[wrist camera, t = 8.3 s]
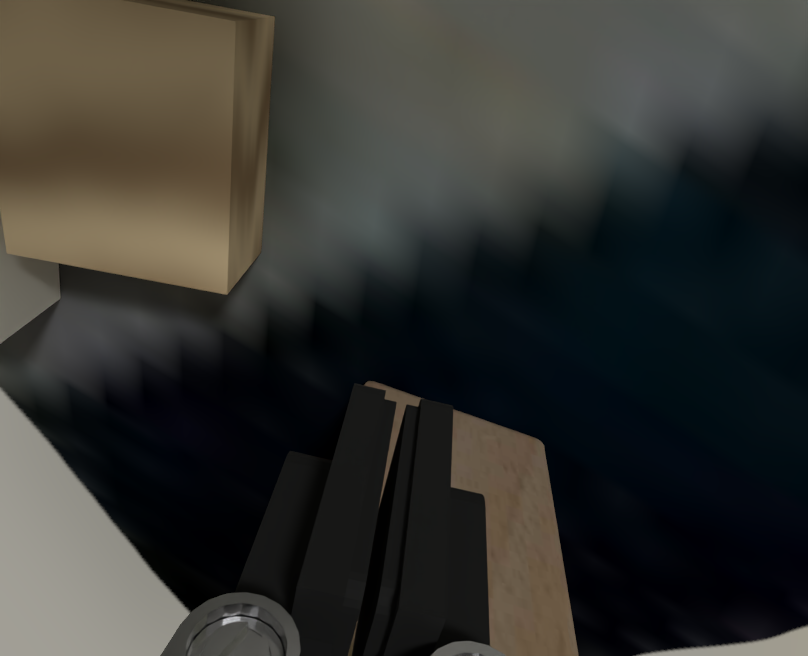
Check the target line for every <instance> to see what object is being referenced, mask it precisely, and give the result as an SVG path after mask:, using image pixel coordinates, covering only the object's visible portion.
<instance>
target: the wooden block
mask: <svg viewBox="0 0 808 656" xmlns="http://www.w3.org/2000/svg"><path fill="white" fill-rule="evenodd" d="M364 386H368V387H373V388H377V389H382V390H386V394H385V399H386V400H391V401H395V402H397V404H396V410H395V416H394V422H393V428H392V434H391V439H390V445H389V451H388V457H387V463H386V469H385V475H384V481H383V487H382V492H381V498H382V495H383V491H384V487H385V483H386V479H387V476H388V472H389V468H390V464H391V460H392V457H393V453H394V449H395V445H396V442H397V438H398V434H399V430H400V426H401V423H402V419H403V415H404V411H405V408H406V405H407V404H408V405H413V406H417V407H418V405H419V402H420V400H421V399H423V398H420V397H417V396H414V395H411V394H409V393H406V392H403V391H400V390H397V389H394V388H391V387H389V386H386V385H383V384H380V383H377V382H374V381H367V382H366V383H365V384H364ZM451 487H453V488H457V489H462V490H466V491H471V492H475V493H480V494H483V496H484V498H485V507H486V537H487V568H488V598H489V628H490V647H492V648H494V649H496V650H498V651H500V652H502V653H503V654H505V655H506V656H578V650H577V644H576V638H575V632H574V625H573V619H572V613H571V607H570V601H569V595H568V589H567V583H566V577H565V571H564V565H563V559H562V553H561V546H560V540H559V534H558V528H557V522H556V516H555V510H554V504H553V498H552V492H551V486H550V480H549V474H548V468H547V461H546V455H545V449H544V445H543V443H542V442H541V441H540V440H538V439H537V438H534V437H531V436H528V435H526V434H523V433H520V432H517V431H514V430H511V429H508V428H506V427H503V426H500V425H497V424H494V423H491V422H488V421H486V420H483V419H480V418H477V417H474V416H471V415H468V414H466V413H463V412H460V411H457V410H454V409H453V436H452V466H451ZM381 498H380V502H381ZM379 506H380V504H379ZM357 621H358V620H357ZM356 627H357V624H356ZM356 627H355V631H354V635H353V638H352V642H351V646H350V649H349V653H348V656H352V650H353V644H354V639H355V633H356Z"/></svg>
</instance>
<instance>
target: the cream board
mask: <svg viewBox="0 0 808 656" xmlns="http://www.w3.org/2000/svg"><path fill="white" fill-rule="evenodd" d="M59 299H61V295H60V279H59V263H55V262H50V261H44V260H39V259H34V258H28V257H23V256H18V255H12V254H7V252H6V245H5V239H4V232H3V225H2V218H1V212H0V344H1V343H2V342H3V341H5V340H6V339H7V338H9V337H10V336H11V335H13V334H14V333H15V332H17V331H18V330H19V329H21V328H22V327H23V326H25V325H26V324H27V323H29V322H30V321H31V320H33V319H34V318H35V317H37V316H38V315H39V314H41V313H42V312H43V311H45V310H46V309H47V308H49V307H50V306H51V305H53V304H54V303H55V302H57V301H58V300H59Z"/></svg>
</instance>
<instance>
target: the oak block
mask: <svg viewBox="0 0 808 656" xmlns="http://www.w3.org/2000/svg"><path fill="white" fill-rule="evenodd" d="M274 23H275V17H274V16H269V15H263V14H258V13H253V12H247V11H242V10H237V9H231V8H226V7H221V6H215V5H210V4H204V3H199V2H194V1H188V0H0V212H1V218H2V225H3V232H4V239H5V245H6V252H7V254H12V255H18V256H23V257H28V258H34V259H39V260H44V261H50V262H55V263H60V264H66V265H71V266H76V267H82V268H87V269H92V270H98V271H103V272H108V273H114V274H119V275H124V276H130V277H135V278H140V279H146V280H151V281H156V282H162V283H167V284H172V285H178V286H183V287H188V288H194V289H199V290H204V291H210V292H215V293H220V294H226V295H227V294H228V293H229V292H230V291H231V289H232V288H233V287H234V286H235V284H236V283H237V282H238V281H239V279H240V278H241V277H242V276H243V274H244V273H245V272H246V271H247V269H248V268H249V267H250V265H251V264H252V263H253V262H254V260H255V259H256V258H257V257H258V255H259V254H260V253H261V247H262V230H263V212H264V195H265V178H266V161H267V144H268V127H269V109H270V92H271V75H272V58H273V41H274Z"/></svg>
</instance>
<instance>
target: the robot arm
mask: <svg viewBox="0 0 808 656" xmlns="http://www.w3.org/2000/svg"><path fill="white" fill-rule="evenodd" d="M385 394H386V390H382V389H377V388H373V387H368V386H364V385H360V384H354V387H353V390H352V393H351V397H350V401H349V404H348V408H347V411H346V415H345V418H344V422H343V425H342V429H341V432H340V436H339V439H338V443H337V446H336V450H335V453H334V457H333V460H328V459H324V458H319V457H315V456H310V455H306V454H301V453H297V452H293V451H290V452H289V453H288V455H287V458H286V460H285V462H284V465H283V468H282V470H281V473H280V475H279V478H278V481H277V483H276V486H275V488H274V491H273V494H272V496H271V499H270V502H269V504H268V507H267V509H266V512H265V515H264V517H263V520H262V522H261V525H260V528H259V530H258V533H257V536H256V538H255V541H254V543H253V546H252V549H251V551H250V554H249V556H248V559H247V562H246V564H245V567H244V569H243V572H242V575H241V577H240V580H239V583H238V585H237V588H236V590H235V593H227V594H224V595H221V596H218V597H215V598H212V599H209V600H208V601H206V602H205V603H203V604H202V605H200V606H199V607H197V608H196V609H194V610H193V611H192V612H191V613H190V614H189V615H188V617H187V618H186V619H185V620H184V621H183V622H182V624H181V625H180V626H179V628H178V629H177V631H176V632H175V634H174V636H173V637H172V639H171V640H170V642H169V643H168V645H167V646H166V648H165V650H164V651H163V653H162V654H161V656H348V653H349V649H350V646H351V642H352V638H353V635H354V631H355V627H356V624H357V627H356V633H355V639H354V644H353V650H352V656H506V655H505V654H503V653H502V652H500V651H498V650H496V649H494V648H492V647H490V628H489V598H488V568H487V537H486V507H485V498H484V496H483V494H480V493H475V492H471V491H466V490H462V489H457V488H453V487H451V466H452V436H453V406H452V405H448V404H443V403H439V402H434V401H430V400H426V399H421V400H420V402H419V405H418V407H417V406H413V405H408V404H407V405H406V408H405V411H404V415H403V419H402V423H401V426H400V430H399V434H398V438H397V442H396V445H395V449H394V453H393V457H392V460H391V464H390V468H389V472H388V476H387V479H386V483H385V487H384V491H383V495H382V498H381V492H382V487H383V481H384V475H385V469H386V463H387V457H388V451H389V445H390V439H391V434H392V428H393V422H394V416H395V410H396V404H397V402H395V401H391V400H386V399H385ZM380 498H381V502H380ZM379 504H380V506H379ZM357 620H358V621H357Z"/></svg>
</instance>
